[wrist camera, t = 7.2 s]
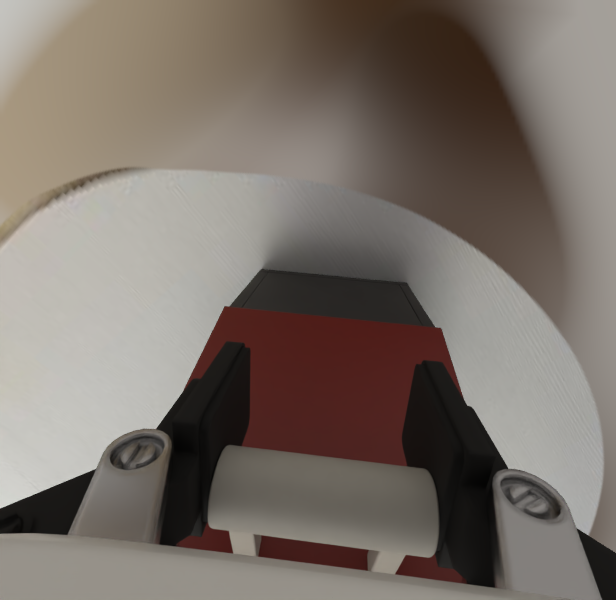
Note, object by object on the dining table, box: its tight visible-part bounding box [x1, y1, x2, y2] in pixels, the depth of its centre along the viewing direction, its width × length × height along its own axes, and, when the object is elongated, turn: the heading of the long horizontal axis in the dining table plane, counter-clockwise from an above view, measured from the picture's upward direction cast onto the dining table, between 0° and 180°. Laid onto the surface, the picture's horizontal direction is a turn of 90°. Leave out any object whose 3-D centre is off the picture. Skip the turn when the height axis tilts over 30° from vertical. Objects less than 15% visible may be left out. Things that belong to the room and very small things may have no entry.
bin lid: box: [179, 306, 464, 583], centre depth 13 cm, size 14×13×6 cm
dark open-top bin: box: [230, 269, 435, 327], centre depth 28 cm, size 14×13×10 cm
